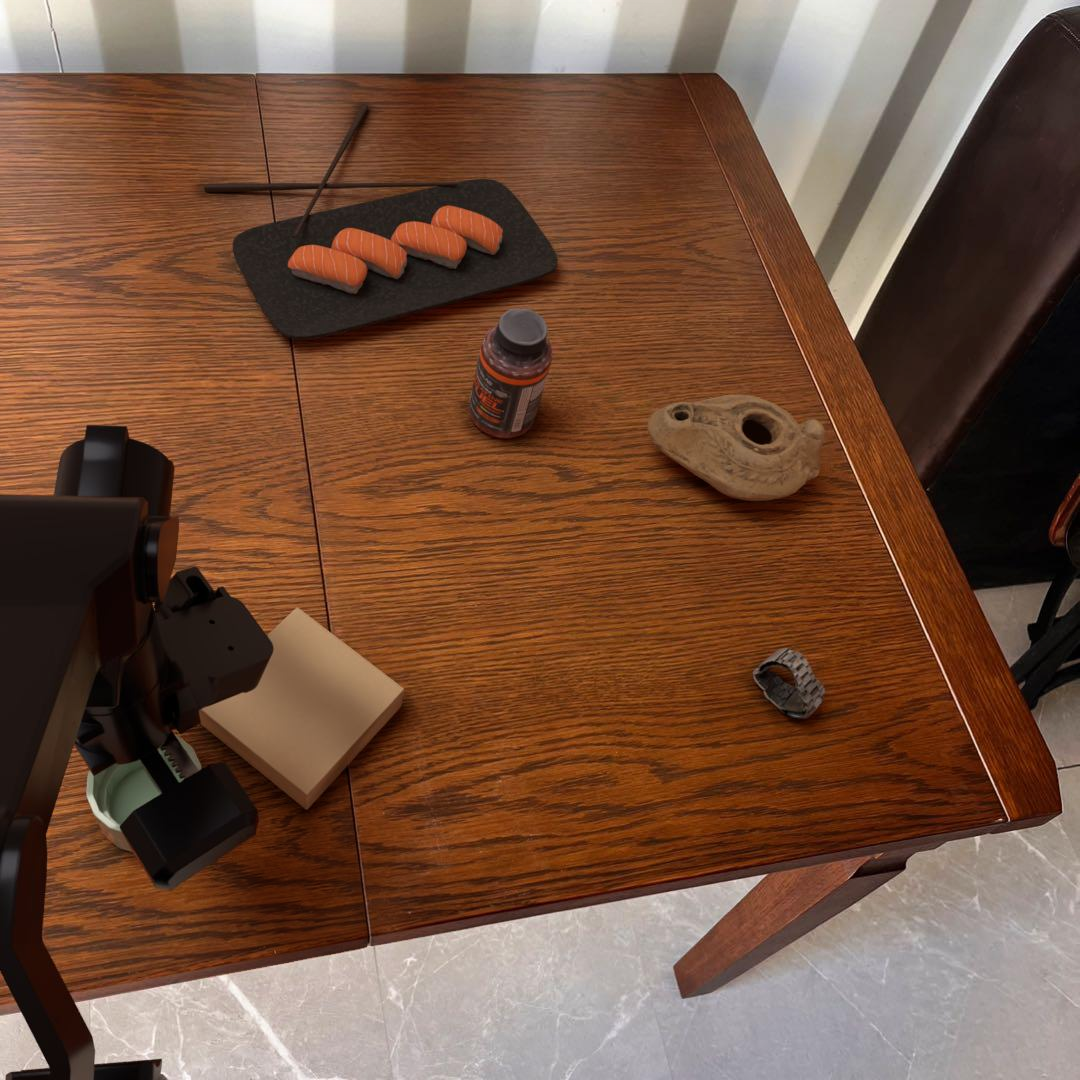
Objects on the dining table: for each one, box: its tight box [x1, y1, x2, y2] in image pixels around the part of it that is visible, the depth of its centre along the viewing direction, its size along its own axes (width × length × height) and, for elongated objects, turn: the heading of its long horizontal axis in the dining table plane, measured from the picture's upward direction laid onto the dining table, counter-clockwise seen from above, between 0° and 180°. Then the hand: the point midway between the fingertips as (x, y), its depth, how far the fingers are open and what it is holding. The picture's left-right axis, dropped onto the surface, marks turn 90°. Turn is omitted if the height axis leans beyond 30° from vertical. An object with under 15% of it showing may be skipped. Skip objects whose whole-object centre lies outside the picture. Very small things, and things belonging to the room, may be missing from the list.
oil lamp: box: [646, 394, 826, 502], centre depth 93 cm, size 11×15×8 cm
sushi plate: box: [203, 103, 559, 341], centre depth 105 cm, size 29×30×4 cm
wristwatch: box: [752, 647, 826, 720], centre depth 84 cm, size 3×5×5 cm
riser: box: [199, 606, 405, 811], centre depth 76 cm, size 10×10×3 cm
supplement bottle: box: [468, 307, 553, 439], centre depth 91 cm, size 6×6×11 cm
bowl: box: [85, 734, 203, 853], centre depth 70 cm, size 7×7×4 cm
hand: (142, 776), depth 67 cm, fingers open, 9 cm apart
